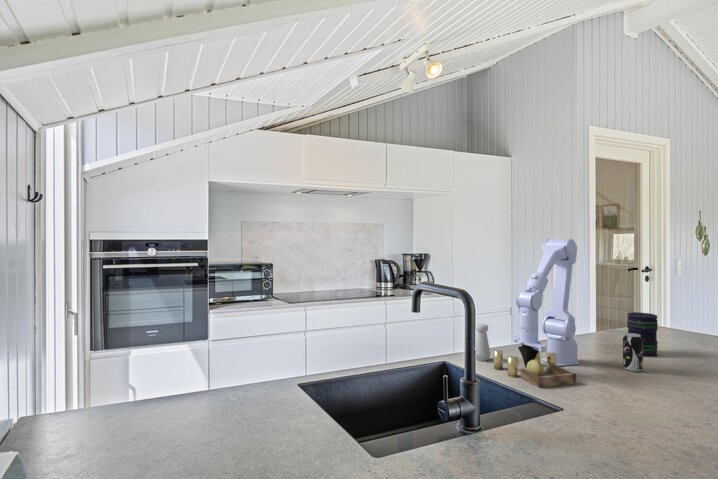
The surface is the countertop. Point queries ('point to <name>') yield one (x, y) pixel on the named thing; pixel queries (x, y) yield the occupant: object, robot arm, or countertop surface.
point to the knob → (535, 367)
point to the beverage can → (632, 352)
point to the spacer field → (513, 362)
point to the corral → (550, 378)
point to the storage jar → (644, 331)
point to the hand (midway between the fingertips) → (528, 368)
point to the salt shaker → (482, 343)
